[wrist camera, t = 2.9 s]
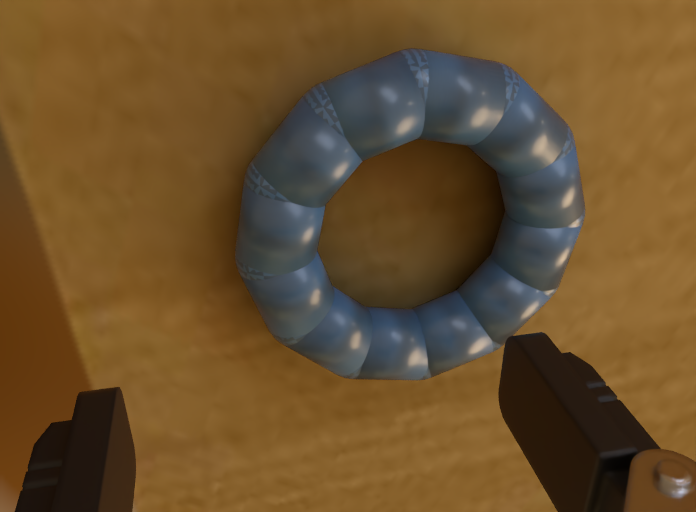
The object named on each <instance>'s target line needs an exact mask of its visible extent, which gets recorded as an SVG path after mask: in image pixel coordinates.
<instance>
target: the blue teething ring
mask: <svg viewBox="0 0 696 512" xmlns="http://www.w3.org/2000/svg"><path fill="white" fill-rule="evenodd" d="M415 139H422V140H430V141H438V142H446V143H454V144H462V145H467V146H468V147H469V148H470V149H471V150H472V151H473V152H475V153H476V154H477V155H478V156H479V157H480V158H481V159H483V160H484V161H485V162H486V163H487V164H488V165H489V166H491V167H492V168H493V169H494V170H495V171H496V172H497V177H498V181H499V185H500V189H501V194H502V198H503V202H504V206H505V213H504V216H503V219H502V222H501V226H500V229H499V232H498V235H497V238H496V241H495V244H494V247H493V251H492V254H491V255H490V256H489V257H488V258H487V259H486V260H485V261H484V262H483V263H482V264H481V265H480V266H479V267H478V268H477V269H476V270H475V272H474V273H473V274H472V275H471V276H470V277H469V278H468V279H467V280H466V281H465V282H464V283H463V284H462V285H461V286H460V287H459V288H458V289H457V290H456V291H453V292H451V293H448V294H446V295H444V296H441V297H439V298H436V299H434V300H431V301H429V302H427V303H424V304H422V305H419V306H417V307H415V308H412V309H398V308H378V307H365V306H363V305H361V304H360V303H358V302H357V301H355V300H354V299H352V298H351V297H349V296H347V295H346V294H344V293H343V292H341V291H340V290H338V289H336V288H335V287H333V286H332V284H331V282H330V279H329V277H328V275H327V272H326V270H325V268H324V265H323V263H322V261H321V258H320V256H319V254H318V251H317V249H318V243H319V238H320V233H321V227H322V222H323V217H324V211H325V206H326V204H327V203H328V201H329V200H330V199H331V198H332V197H333V195H334V194H335V193H336V192H337V191H338V190H339V188H340V187H341V186H342V185H343V184H344V183H345V181H346V180H347V179H348V178H349V177H350V175H351V174H352V173H353V172H354V171H355V170H356V168H357V167H358V166H359V165H360V164H361V162H362V161H364V160H367V159H369V158H371V157H374V156H376V155H379V154H381V153H384V152H386V151H389V150H391V149H393V148H396V147H398V146H401V145H403V144H406V143H408V142H411V141H413V140H415ZM584 217H585V203H584V197H583V190H582V184H581V178H580V172H579V165H578V159H577V153H576V147H575V140H574V136H573V133H572V131H571V129H570V127H569V126H568V124H567V123H566V122H565V121H564V120H563V119H562V118H561V117H560V116H559V115H558V114H557V113H556V112H555V111H554V110H553V109H552V108H551V107H550V106H549V105H548V104H547V103H546V102H545V101H544V100H543V99H542V98H541V97H540V96H539V95H538V94H537V93H536V92H535V91H534V90H533V89H532V88H531V87H530V86H529V85H528V84H527V83H526V82H525V81H524V80H523V79H522V78H521V77H520V76H519V75H518V74H517V73H516V72H515V71H514V70H513V69H512V68H510V67H509V66H507V65H505V64H502V63H499V62H495V61H489V60H483V59H477V58H471V57H465V56H459V55H453V54H447V53H441V52H435V51H428V50H422V49H405V50H401V51H398V52H395V53H392V54H390V55H388V56H385V57H383V58H380V59H378V60H375V61H373V62H370V63H368V64H365V65H363V66H361V67H358V68H356V69H353V70H351V71H348V72H346V73H343V74H341V75H338V76H336V77H334V78H331V79H329V80H326V81H324V82H321V83H320V84H317V85H315V86H314V87H312V88H311V89H310V90H308V91H307V92H306V93H305V94H304V96H302V98H301V99H300V100H299V101H298V103H297V104H296V105H295V107H294V108H293V109H292V110H291V112H290V113H289V114H288V115H287V117H286V118H285V119H284V120H283V122H282V123H281V124H280V125H279V127H278V128H277V129H276V130H275V132H274V133H273V134H272V135H271V137H270V138H269V139H268V141H267V142H266V143H265V144H264V146H263V147H262V148H261V149H260V151H259V152H258V153H257V154H256V156H255V157H254V158H253V160H252V161H251V163H250V164H249V166H248V168H247V170H246V173H245V178H244V185H243V193H242V201H241V209H240V217H239V225H238V233H237V241H236V249H235V261H236V265H237V269H238V271H239V273H240V275H241V277H242V279H243V281H244V283H245V285H246V287H247V289H248V291H249V293H250V295H251V297H252V299H253V301H254V302H255V304H256V306H257V308H258V310H259V312H260V314H261V316H262V318H263V320H264V322H265V324H266V326H267V328H268V329H269V331H270V333H271V334H272V335H273V337H274V338H275V339H276V340H277V341H279V342H280V343H282V344H283V345H285V346H287V347H288V348H290V349H292V350H294V351H296V352H297V353H299V354H301V355H303V356H305V357H306V358H308V359H310V360H312V361H313V362H315V363H317V364H319V365H321V366H322V367H324V368H326V369H328V370H330V371H331V372H333V373H335V374H337V375H339V376H341V377H344V378H349V379H377V380H425V379H428V378H431V377H434V376H436V375H438V374H441V373H443V372H446V371H448V370H451V369H453V368H455V367H458V366H460V365H463V364H465V363H467V362H470V361H472V360H475V359H477V358H479V357H482V356H484V355H487V354H489V353H491V352H494V351H495V350H497V349H499V348H500V347H501V346H503V345H504V344H505V343H506V340H507V338H508V337H510V336H513V335H514V334H515V333H516V332H517V331H518V330H519V329H520V328H521V327H522V326H523V325H524V324H525V323H526V322H527V321H528V320H529V319H530V318H531V317H532V316H533V315H534V314H535V313H536V312H537V311H538V310H539V309H540V308H541V307H542V306H543V305H544V304H545V303H546V302H547V301H548V300H549V299H550V298H551V297H552V296H553V295H554V293H555V292H556V290H557V288H558V287H559V285H560V282H561V279H562V277H563V274H564V271H565V269H566V266H567V264H568V261H569V258H570V256H571V253H572V250H573V248H574V245H575V243H576V240H577V237H578V235H579V232H580V229H581V227H582V224H583V221H584Z"/></svg>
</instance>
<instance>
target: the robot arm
mask: <svg viewBox="0 0 696 512" xmlns="http://www.w3.org/2000/svg"><path fill="white" fill-rule="evenodd" d="M499 405H500V409H501V413H502V416H503V418H504V420H505V422H506V424H507V426H508V427H509V429H510V431H511V432H512V434H513V436H514V438H515V439H516V441H517V443H518V444H519V446H520V448H521V450H522V451H523V453H524V455H525V456H526V458H527V460H528V462H529V463H530V465H531V467H532V468H533V470H534V472H535V473H536V475H537V477H538V479H539V480H540V482H541V484H542V485H543V487H544V489H545V491H546V492H547V494H548V496H549V497H550V499H551V501H552V503H553V504H554V506H555V508H556V509H557V511H558V512H696V462H695V461H693V460H692V459H690V458H688V457H686V456H684V455H682V454H679V453H677V452H674V451H669V450H664V449H660V447H659V446H658V445H657V444H656V443H655V441H654V440H653V439H652V438H651V437H650V435H649V434H648V433H647V432H646V431H645V429H644V428H643V427H642V426H641V425H640V423H639V422H638V421H637V420H636V419H635V417H634V416H633V415H632V414H631V413H630V411H629V410H628V409H627V408H626V407H625V405H624V404H623V403H622V402H621V401H620V400H617V396H616V395H615V393H614V392H613V391H612V390H611V389H610V387H609V386H606V384H605V381H604V380H603V379H602V378H601V377H600V375H599V374H598V373H597V372H596V371H595V369H594V368H593V367H592V366H591V365H589V364H588V363H586V362H585V361H583V360H582V359H580V358H578V357H577V356H575V355H574V354H572V353H571V352H568V353H561V352H560V351H559V349H558V348H557V347H556V346H555V344H554V343H553V342H552V341H551V339H550V338H549V337H548V336H547V335H546V334H545V333H543V332H540V333H532V334H525V335H517V336H510V337H508V338H507V340H506V343H505V348H504V355H503V363H502V370H501V378H500V385H499ZM135 478H136V459H135V449H134V443H133V439H132V434H131V430H130V425H129V421H128V416H127V412H126V407H125V403H124V398H123V394H122V391H121V389H120V387H115V388H107V389H99V390H92V391H84V392H80V393H79V394H78V396H77V400H76V404H75V409H74V413H73V417H72V420H69V421H63V422H55V423H51V424H50V426H49V427H48V428H47V429H46V431H45V432H44V433H43V434H42V435H41V437H40V438H39V439H38V440H37V442H36V443H35V444H34V447H33V451H32V454H31V458H30V461H29V464H28V472H26V475H25V478H24V482H23V486H22V487H23V490H22V491H21V492H20V496H19V499H18V503H17V506H16V510H15V512H132V508H133V498H134V488H135Z"/></svg>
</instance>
